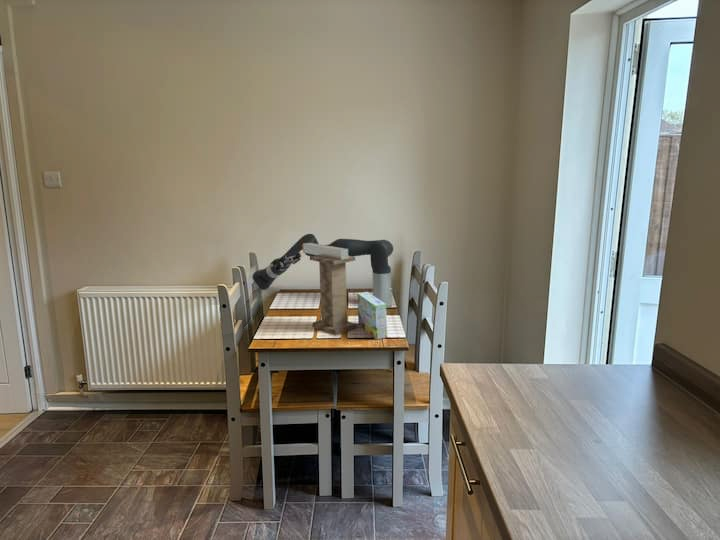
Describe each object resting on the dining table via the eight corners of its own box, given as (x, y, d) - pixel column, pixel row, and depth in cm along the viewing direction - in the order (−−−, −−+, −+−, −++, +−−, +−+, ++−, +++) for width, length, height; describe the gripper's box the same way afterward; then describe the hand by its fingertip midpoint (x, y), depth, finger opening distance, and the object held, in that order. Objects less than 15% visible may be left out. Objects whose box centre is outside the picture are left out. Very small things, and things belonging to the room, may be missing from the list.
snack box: (357, 325, 217) (356, 292, 213) (368, 323, 219) (368, 291, 215) (375, 340, 197) (374, 305, 194) (387, 338, 199) (387, 303, 196)
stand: (312, 326, 215) (309, 256, 208) (332, 320, 223) (330, 252, 216) (336, 335, 204) (333, 261, 197) (356, 328, 212) (355, 256, 205)
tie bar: (302, 252, 218) (302, 243, 217) (309, 251, 221) (309, 242, 220) (341, 259, 200) (340, 250, 199) (348, 258, 202) (348, 249, 202)
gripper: (262, 263, 235) (277, 250, 223) (286, 259, 244) (302, 246, 233) (267, 277, 233) (283, 265, 222) (291, 272, 243) (307, 260, 232)
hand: (293, 255), depth 227 cm, fingers open, 8 cm apart
